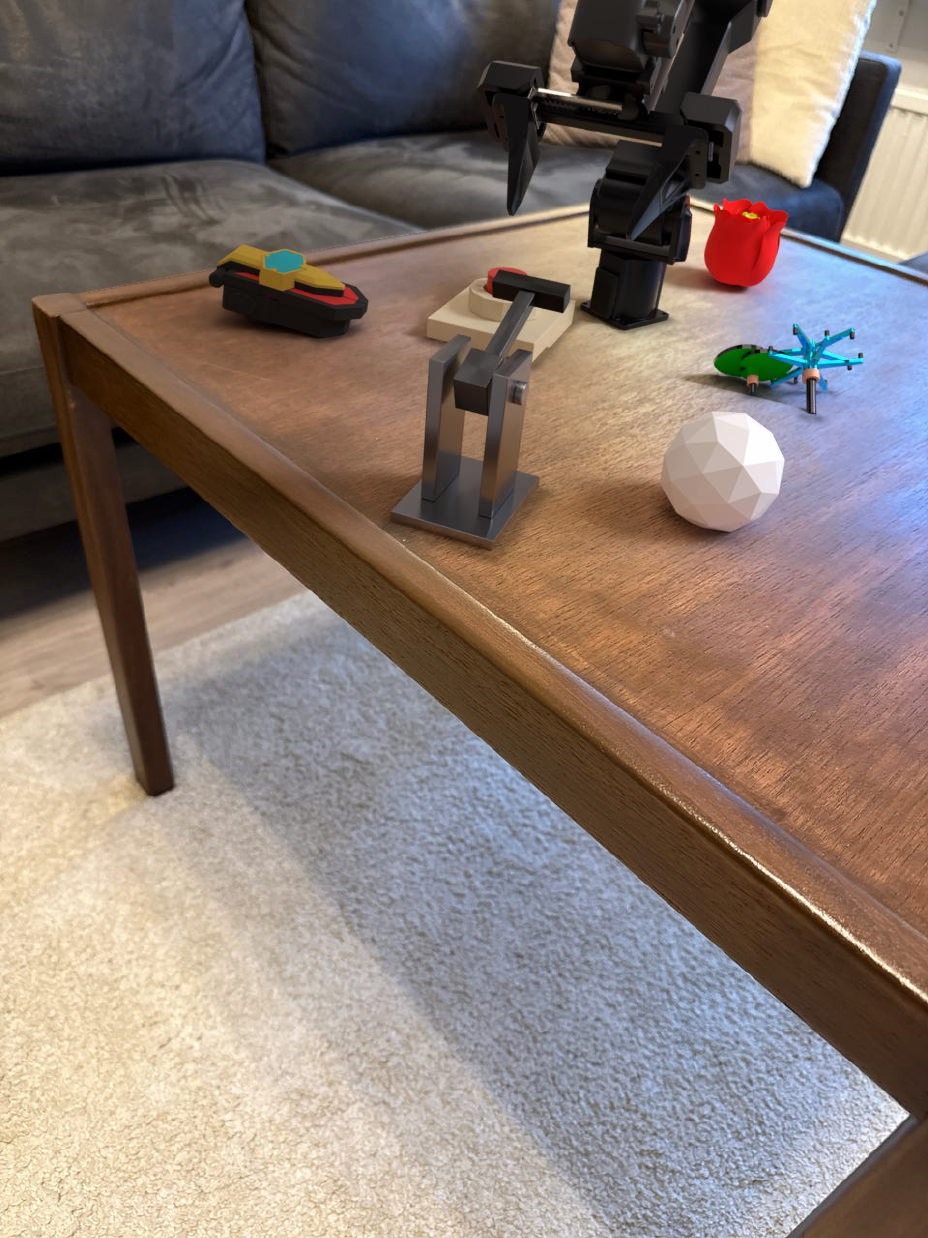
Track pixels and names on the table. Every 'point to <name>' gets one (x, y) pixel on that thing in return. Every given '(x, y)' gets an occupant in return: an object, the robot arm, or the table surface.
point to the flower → (743, 242)
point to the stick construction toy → (786, 363)
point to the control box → (495, 321)
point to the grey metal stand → (465, 487)
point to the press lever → (504, 334)
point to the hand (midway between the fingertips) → (568, 224)
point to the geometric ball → (722, 470)
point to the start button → (493, 272)
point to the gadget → (286, 292)
